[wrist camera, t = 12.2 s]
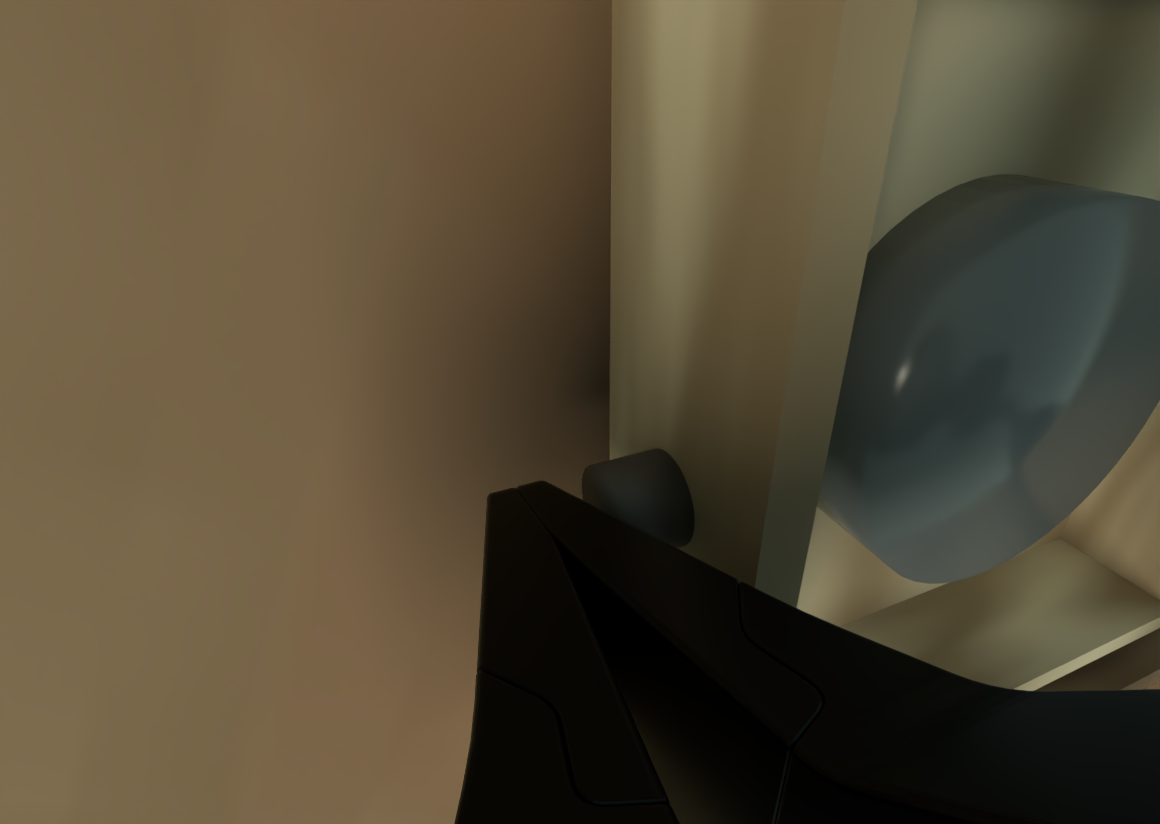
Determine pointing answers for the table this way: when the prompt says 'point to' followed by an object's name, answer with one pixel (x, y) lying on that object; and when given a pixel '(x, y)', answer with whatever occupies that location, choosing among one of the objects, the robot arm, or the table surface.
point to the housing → (1116, 669)
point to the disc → (993, 371)
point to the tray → (851, 290)
